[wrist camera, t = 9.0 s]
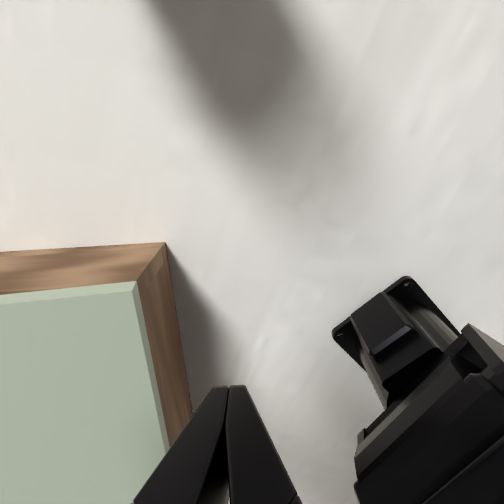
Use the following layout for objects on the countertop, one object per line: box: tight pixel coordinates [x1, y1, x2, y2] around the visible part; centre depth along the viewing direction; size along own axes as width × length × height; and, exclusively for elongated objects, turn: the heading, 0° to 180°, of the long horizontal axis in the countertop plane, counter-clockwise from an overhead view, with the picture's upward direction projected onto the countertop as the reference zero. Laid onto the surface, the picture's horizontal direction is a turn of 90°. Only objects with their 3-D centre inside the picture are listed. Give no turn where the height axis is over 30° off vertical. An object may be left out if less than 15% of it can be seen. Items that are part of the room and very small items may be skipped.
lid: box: [0, 281, 170, 504], centre depth 17 cm, size 13×17×1 cm
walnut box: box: [0, 242, 193, 447], centre depth 21 cm, size 13×17×6 cm
